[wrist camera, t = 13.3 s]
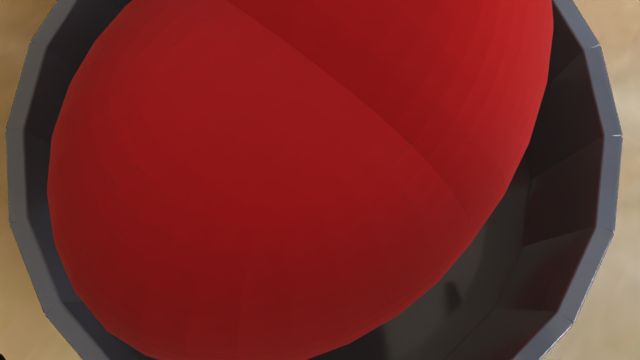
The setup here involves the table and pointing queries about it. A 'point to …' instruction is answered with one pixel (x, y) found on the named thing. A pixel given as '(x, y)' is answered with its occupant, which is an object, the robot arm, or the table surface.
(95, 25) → the measuring cup
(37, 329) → the table surface
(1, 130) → the table surface
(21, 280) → the table surface
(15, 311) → the table surface
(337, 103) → the light bulb
